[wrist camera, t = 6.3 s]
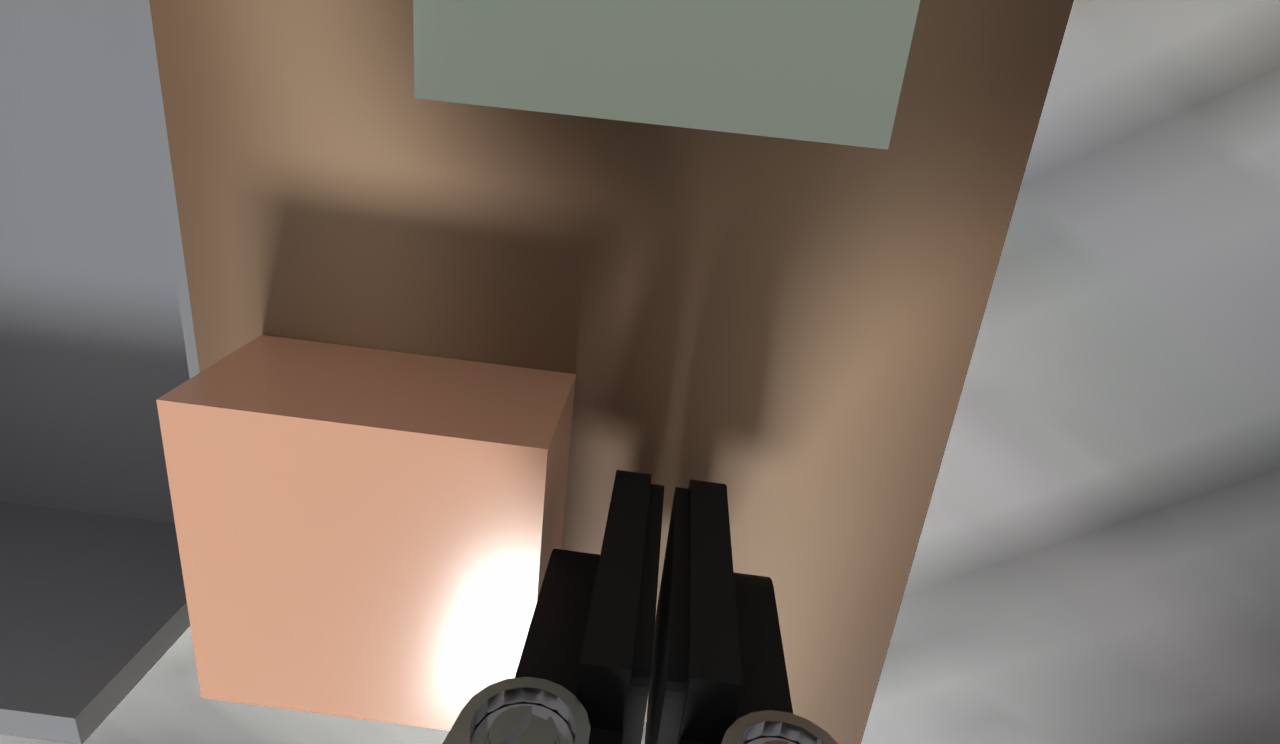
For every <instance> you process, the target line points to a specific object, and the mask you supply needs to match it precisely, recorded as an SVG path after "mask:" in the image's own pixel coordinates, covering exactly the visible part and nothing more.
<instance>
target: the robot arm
mask: <svg viewBox="0 0 1280 744" xmlns="http://www.w3.org/2000/svg"><path fill="white" fill-rule="evenodd" d="M651 476H652V474H645V473H637V472H630V471H622V470H616V475H615V480H614V486H613V491H612V496H611V501H610V507H609V512H608V517H607V522H606V528H605V533H604V538H603V543H602V549H601V554H600V555H599V554H592V553H584V552H577V551H569V550H562V549H553V550H552V553H551V556H550V559H549V562H548V566H547V569H546V573H545V576H544V579H543V583H542V586H541V590H540V593H539V596H538V600H537V603H536V607H535V610H534V614H533V617H532V620H531V624H530V627H529V631H528V634H527V638H526V641H525V644H524V648H523V651H522V655H521V658H520V662H519V665H518V668H517V672H516V675H515V678H511V679H505V680H502V681H500V682H497V683H494V684H492V685H489V686H487V687H486V688H484V689H483V690H481V691H480V692H479V693H477V694H476V695H474V696H473V697H472V698H471V699H470V700H469V702H468V703H467V704H466V705H465V707H464V708H463V709H462V711H461V712H460V714H459V716H458V717H457V719H456V721H455V723H454V724H453V726H452V728H451V730H450V732H449V733H448V735H447V737H446V739H445V741H444V742H443V744H641V740H642V733H643V726H644V720H645V713H646V707H647V700H648V707H647V721H646V735H645V744H838V743H837V742H836V741H835V740H834V739H833V738H832V737H831V736H830V735H829V733H828V732H826V731H825V730H823V729H822V728H820V727H819V726H817V725H816V724H814V723H813V722H811V721H810V720H808V719H805V718H802V717H800V716H797V715H795V714H793V709H792V703H791V696H790V690H789V683H788V677H787V670H786V664H785V657H784V651H783V644H782V638H781V631H780V625H779V618H778V612H777V606H776V599H775V593H774V586H773V582H772V579H771V578H770V577H765V576H757V575H750V574H742V573H735V572H733V559H732V546H731V534H730V521H729V509H728V496H727V486H726V484H722V483H714V482H706V481H699V480H690V483H689V487H688V489H687V488H679V487H675V492H674V498H673V504H672V511H671V518H670V525H669V531H668V538H667V545H666V551H665V558H664V565H663V571H662V578H661V585H660V591H659V598H658V605H657V611H656V602H657V588H658V573H659V559H660V544H661V530H662V515H663V501H664V485H656V484H651ZM655 617H656V618H655Z"/></svg>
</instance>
